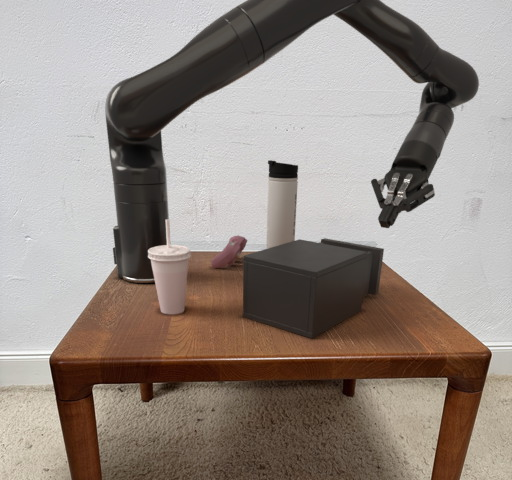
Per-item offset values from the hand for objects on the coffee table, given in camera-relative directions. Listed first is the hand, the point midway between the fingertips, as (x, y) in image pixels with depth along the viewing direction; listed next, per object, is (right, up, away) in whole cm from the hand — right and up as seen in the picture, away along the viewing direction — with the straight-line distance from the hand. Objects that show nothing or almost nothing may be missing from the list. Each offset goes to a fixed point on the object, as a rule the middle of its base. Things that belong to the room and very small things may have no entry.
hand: (383, 225), depth 91 cm
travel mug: (-19, -2, +19) cm, 27 cm away
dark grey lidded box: (-17, -17, -15) cm, 28 cm away
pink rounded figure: (-29, -6, +11) cm, 32 cm away
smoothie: (-37, -17, -14) cm, 43 cm away
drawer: (-10, -13, -8) cm, 19 cm away
